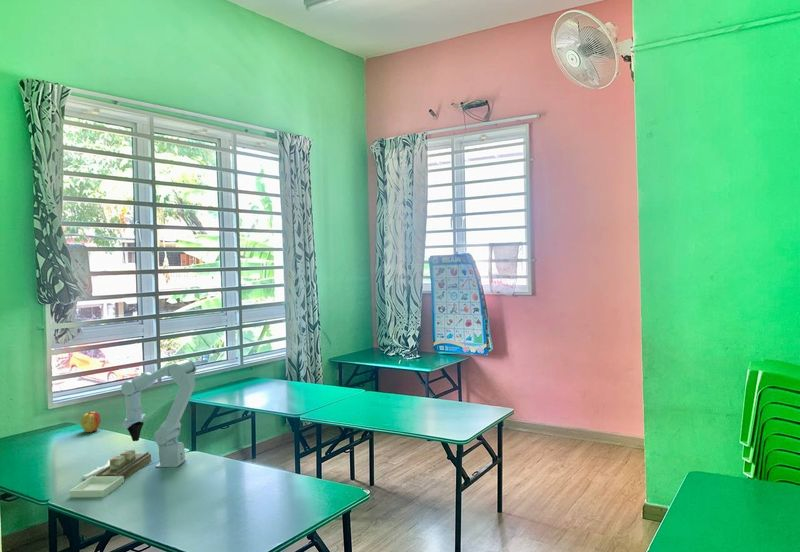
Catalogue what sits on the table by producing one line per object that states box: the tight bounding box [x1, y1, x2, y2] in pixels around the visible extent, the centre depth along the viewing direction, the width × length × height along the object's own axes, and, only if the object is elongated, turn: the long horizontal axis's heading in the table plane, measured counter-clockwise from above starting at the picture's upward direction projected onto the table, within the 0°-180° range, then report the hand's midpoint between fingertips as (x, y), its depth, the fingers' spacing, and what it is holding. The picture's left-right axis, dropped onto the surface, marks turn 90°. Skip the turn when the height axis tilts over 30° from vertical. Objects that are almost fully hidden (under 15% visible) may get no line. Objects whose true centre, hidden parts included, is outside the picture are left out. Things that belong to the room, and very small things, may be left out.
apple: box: [80, 411, 102, 433], centre depth 288 cm, size 9×9×10 cm
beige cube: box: [119, 449, 136, 464], centre depth 232 cm, size 4×4×4 cm
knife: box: [81, 459, 110, 481], centre depth 238 cm, size 30×2×8 cm
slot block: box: [95, 451, 152, 481], centre depth 231 cm, size 10×22×4 cm, turn 175°
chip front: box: [109, 455, 126, 469], centre depth 226 cm, size 4×4×4 cm
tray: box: [68, 475, 125, 498], centre depth 213 cm, size 13×13×2 cm
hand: (135, 440), depth 239 cm, fingers closed
